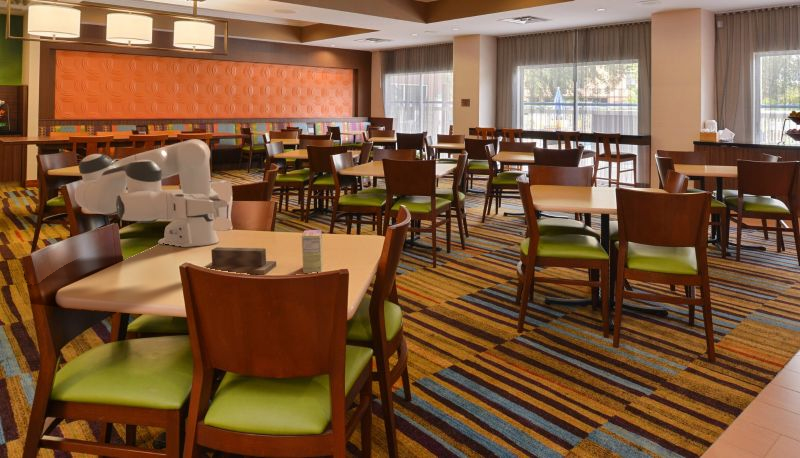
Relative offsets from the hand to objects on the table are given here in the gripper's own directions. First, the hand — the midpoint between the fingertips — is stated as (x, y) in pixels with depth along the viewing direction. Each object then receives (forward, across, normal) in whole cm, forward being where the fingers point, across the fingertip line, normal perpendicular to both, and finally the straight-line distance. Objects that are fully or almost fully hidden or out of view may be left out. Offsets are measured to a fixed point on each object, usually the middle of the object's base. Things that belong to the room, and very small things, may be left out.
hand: (224, 202), depth 189 cm
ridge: (+4, +1, -21) cm, 22 cm away
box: (+24, +11, -22) cm, 34 cm away
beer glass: (-1, 0, -9) cm, 9 cm away
